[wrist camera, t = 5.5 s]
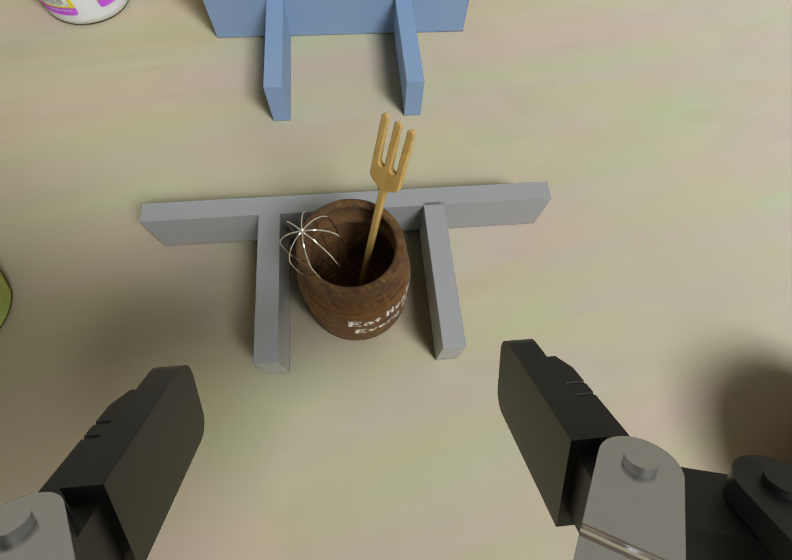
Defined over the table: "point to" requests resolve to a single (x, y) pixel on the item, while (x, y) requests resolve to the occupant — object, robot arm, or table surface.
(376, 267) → the utensil holder
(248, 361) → the table surface
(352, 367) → the table surface
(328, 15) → the blue rail with prongs
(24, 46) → the table surface
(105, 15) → the supplement bottle
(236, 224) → the grey rail with prongs
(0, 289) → the plant pot
